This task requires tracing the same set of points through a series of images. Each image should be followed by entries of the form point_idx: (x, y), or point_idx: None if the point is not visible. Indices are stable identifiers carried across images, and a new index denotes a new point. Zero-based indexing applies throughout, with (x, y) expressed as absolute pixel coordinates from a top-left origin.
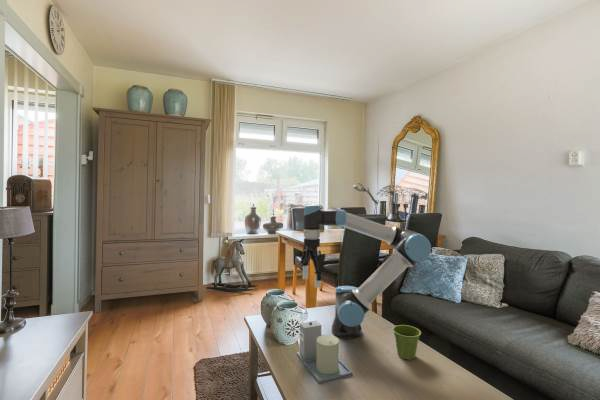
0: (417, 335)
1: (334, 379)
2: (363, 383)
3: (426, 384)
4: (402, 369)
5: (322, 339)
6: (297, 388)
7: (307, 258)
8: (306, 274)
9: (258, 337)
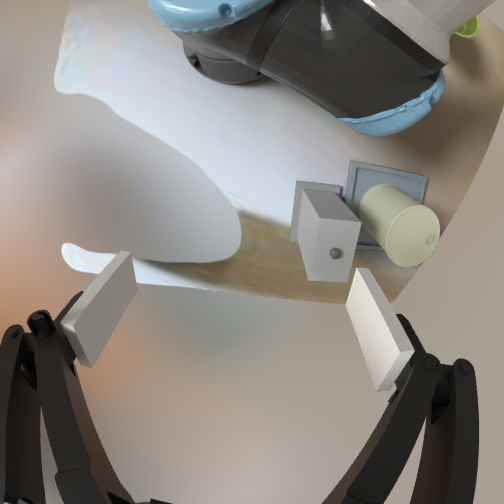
0: (476, 15)
1: None
2: (448, 177)
3: (489, 89)
4: (451, 74)
5: (403, 248)
6: (389, 288)
7: (103, 457)
8: (116, 289)
9: (169, 285)
